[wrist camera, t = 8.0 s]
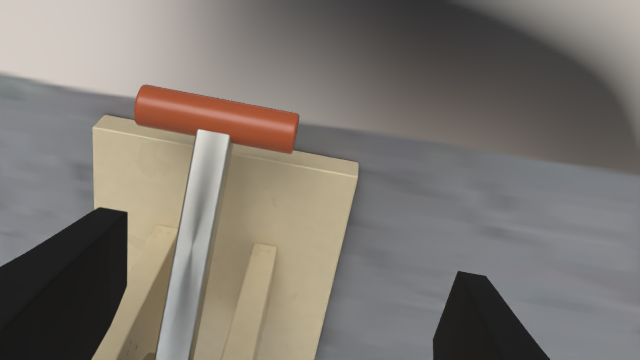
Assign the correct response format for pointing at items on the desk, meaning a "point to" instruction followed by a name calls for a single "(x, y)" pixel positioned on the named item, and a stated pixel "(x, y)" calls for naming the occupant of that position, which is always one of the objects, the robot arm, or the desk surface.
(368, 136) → the desk surface
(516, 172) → the desk surface
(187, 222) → the lever
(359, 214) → the desk surface
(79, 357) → the robot arm
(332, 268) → the bracket
